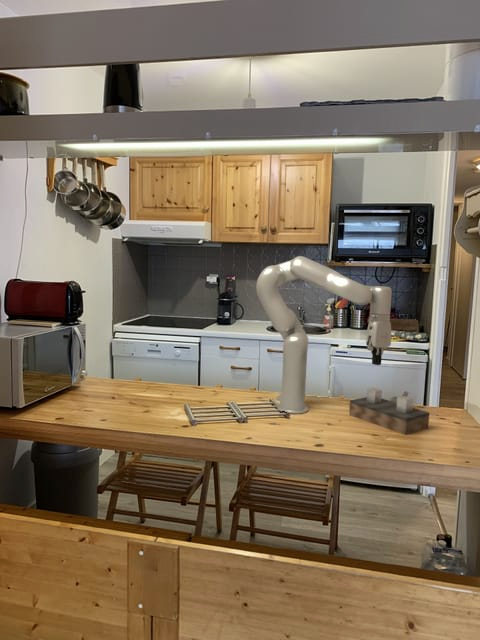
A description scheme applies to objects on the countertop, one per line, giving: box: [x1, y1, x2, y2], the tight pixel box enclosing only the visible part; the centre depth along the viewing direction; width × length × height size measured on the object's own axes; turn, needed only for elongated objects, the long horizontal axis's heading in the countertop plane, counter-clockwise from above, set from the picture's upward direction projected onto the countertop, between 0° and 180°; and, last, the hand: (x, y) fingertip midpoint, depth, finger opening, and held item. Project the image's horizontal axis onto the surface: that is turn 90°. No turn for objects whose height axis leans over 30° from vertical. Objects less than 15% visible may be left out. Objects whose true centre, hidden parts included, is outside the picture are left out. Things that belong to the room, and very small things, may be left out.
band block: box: [348, 396, 430, 436], centre depth 186 cm, size 26×14×6 cm, turn 36°
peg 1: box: [366, 387, 383, 404], centre depth 191 cm, size 4×4×6 cm
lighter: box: [389, 390, 410, 403], centre depth 203 cm, size 7×2×8 cm, turn 78°
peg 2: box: [396, 395, 414, 414], centre depth 180 cm, size 4×4×6 cm
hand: (376, 364), depth 190 cm, fingers closed
